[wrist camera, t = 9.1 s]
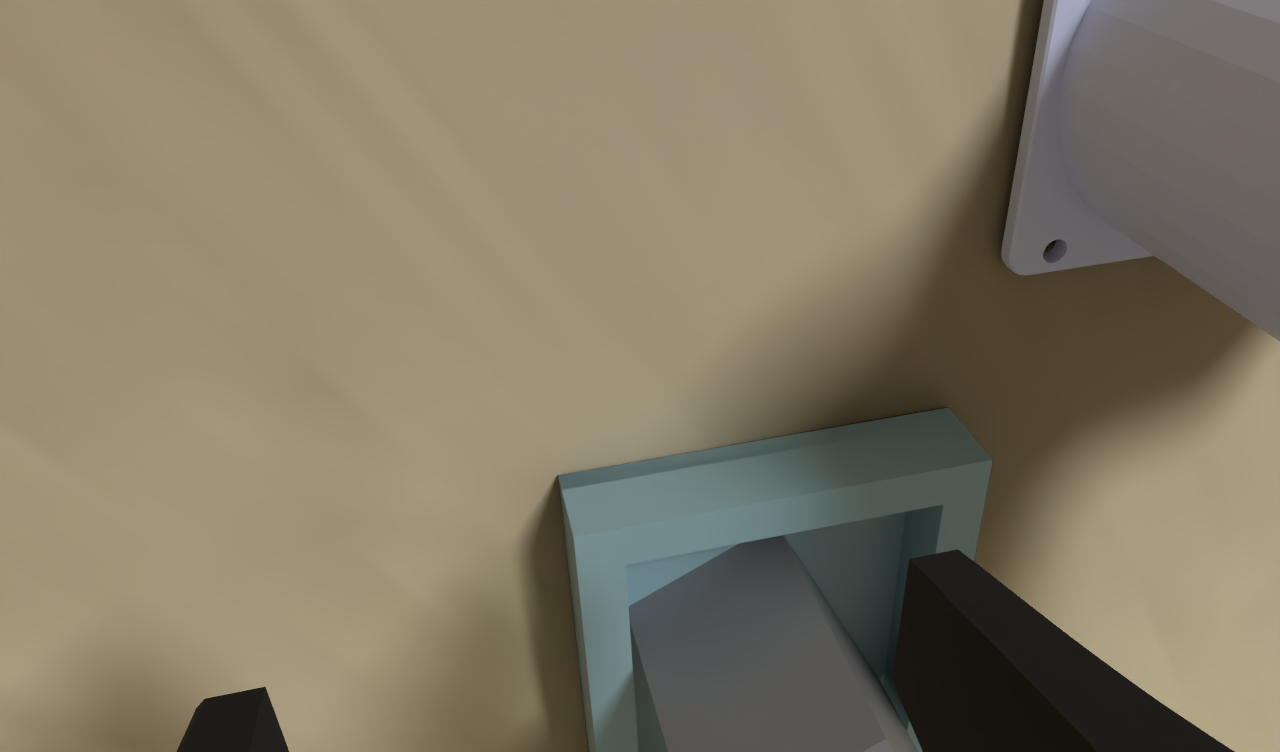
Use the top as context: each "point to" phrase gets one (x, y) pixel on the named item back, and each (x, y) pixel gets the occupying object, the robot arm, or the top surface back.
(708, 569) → the block
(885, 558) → the service tray
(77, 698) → the top surface
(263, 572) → the top surface
